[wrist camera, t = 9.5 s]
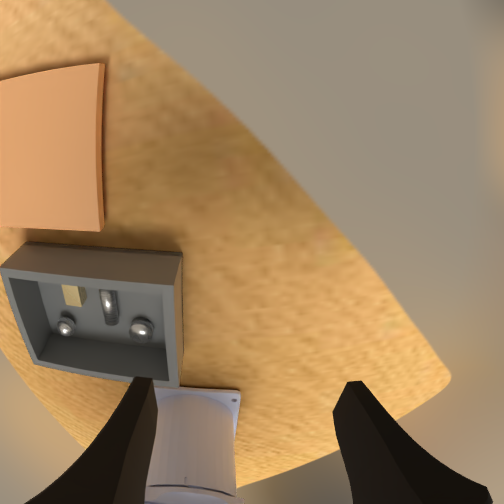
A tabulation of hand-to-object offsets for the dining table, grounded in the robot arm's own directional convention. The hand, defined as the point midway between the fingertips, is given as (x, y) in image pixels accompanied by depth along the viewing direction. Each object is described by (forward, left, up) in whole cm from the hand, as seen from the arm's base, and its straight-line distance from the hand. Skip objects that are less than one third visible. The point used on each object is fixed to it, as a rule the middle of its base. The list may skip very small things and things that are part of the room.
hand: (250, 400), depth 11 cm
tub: (-3, +9, -9) cm, 13 cm away
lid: (+7, +14, -9) cm, 18 cm away
